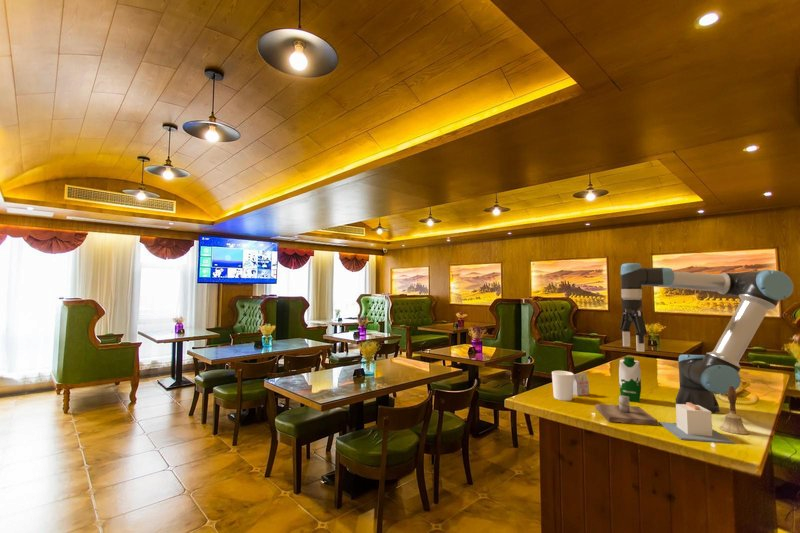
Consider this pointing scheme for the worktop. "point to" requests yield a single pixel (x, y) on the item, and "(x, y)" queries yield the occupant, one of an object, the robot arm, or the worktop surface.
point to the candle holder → (562, 385)
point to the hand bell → (733, 416)
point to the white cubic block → (694, 419)
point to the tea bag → (580, 385)
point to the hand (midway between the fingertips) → (633, 348)
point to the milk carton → (630, 378)
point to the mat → (684, 436)
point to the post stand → (625, 413)
